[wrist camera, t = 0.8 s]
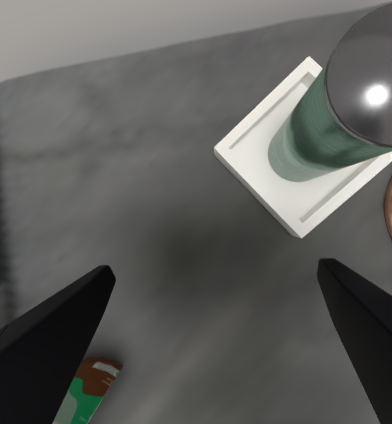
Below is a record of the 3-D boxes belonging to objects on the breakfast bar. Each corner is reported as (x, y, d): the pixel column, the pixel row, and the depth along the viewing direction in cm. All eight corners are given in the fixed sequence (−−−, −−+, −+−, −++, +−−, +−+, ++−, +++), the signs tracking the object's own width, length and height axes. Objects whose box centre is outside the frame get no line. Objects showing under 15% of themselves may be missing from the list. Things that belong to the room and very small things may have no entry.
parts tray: (383, 155, 19) (407, 147, 17) (291, 235, 20) (301, 238, 18) (297, 75, 20) (308, 56, 18) (214, 155, 21) (213, 147, 19)
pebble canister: (345, 152, 19) (527, 67, 8) (296, 195, 19) (401, 174, 8) (300, 108, 19) (410, -30, 8) (253, 152, 20) (298, 77, 9)
